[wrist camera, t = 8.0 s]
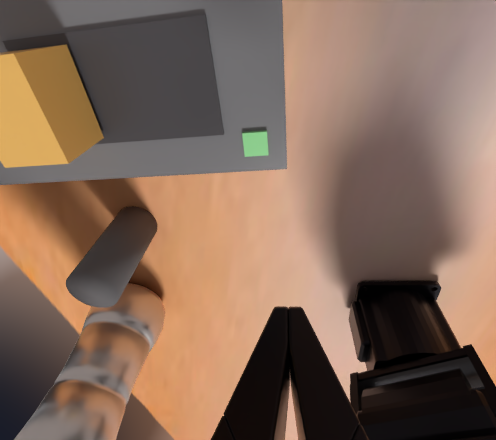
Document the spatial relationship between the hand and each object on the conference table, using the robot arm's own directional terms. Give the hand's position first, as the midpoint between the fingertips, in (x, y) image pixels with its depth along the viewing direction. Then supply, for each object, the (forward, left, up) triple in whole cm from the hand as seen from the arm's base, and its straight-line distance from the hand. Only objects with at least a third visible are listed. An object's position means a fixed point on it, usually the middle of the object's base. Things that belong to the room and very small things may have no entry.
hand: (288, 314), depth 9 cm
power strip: (+10, -5, -12) cm, 17 cm away
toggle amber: (+10, -5, -8) cm, 14 cm away
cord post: (+12, +5, -12) cm, 18 cm away
